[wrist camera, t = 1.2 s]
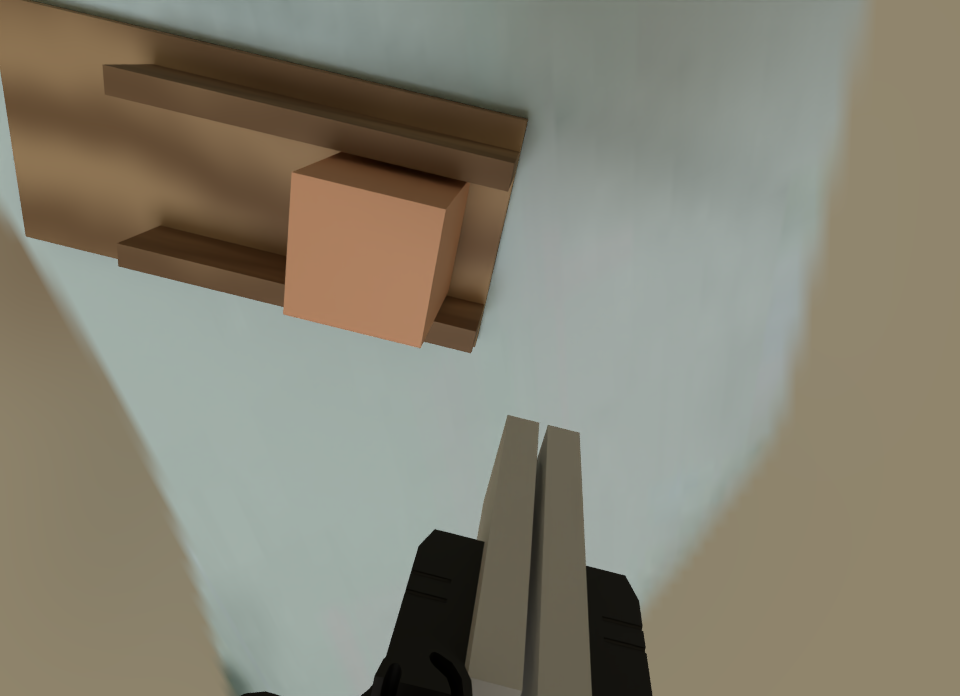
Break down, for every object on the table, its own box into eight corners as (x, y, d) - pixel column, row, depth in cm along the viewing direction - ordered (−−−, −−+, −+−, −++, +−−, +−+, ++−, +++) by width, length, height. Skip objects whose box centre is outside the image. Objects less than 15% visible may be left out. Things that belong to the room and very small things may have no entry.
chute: (6, -6, 28) (-86, -17, 24) (528, 119, 28) (522, 128, 24) (39, 231, 34) (-31, 254, 30) (477, 339, 33) (465, 377, 29)
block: (350, 147, 28) (291, 172, 22) (471, 176, 28) (445, 209, 22) (339, 263, 31) (283, 314, 25) (448, 290, 31) (420, 348, 25)
